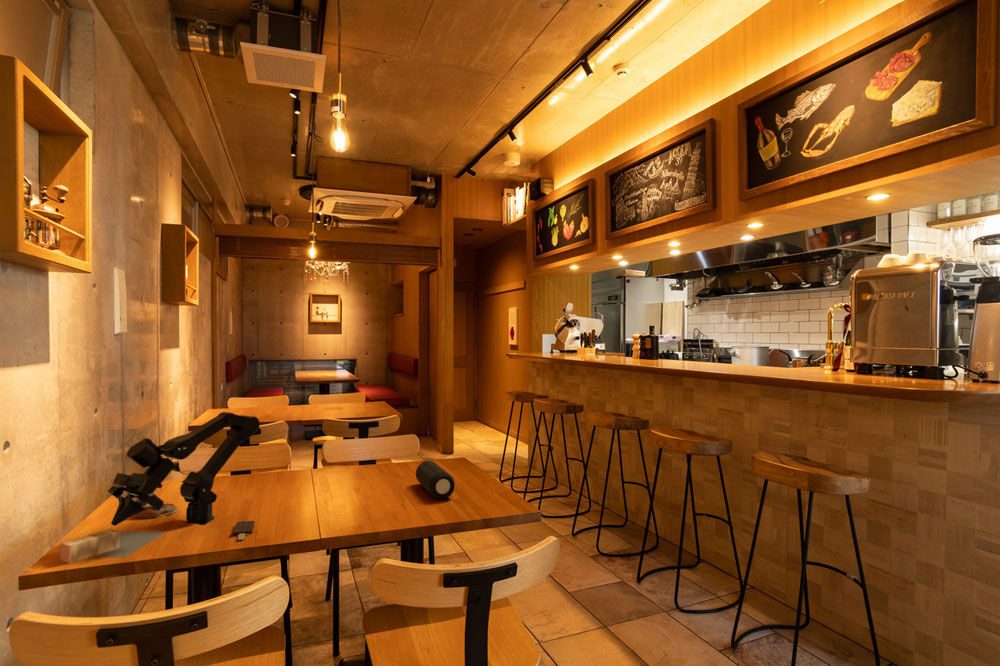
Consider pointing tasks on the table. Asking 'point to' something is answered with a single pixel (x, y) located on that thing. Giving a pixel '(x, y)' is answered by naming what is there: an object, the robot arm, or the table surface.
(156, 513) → the toy sandwich meal
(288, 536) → the table surface
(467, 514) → the table surface
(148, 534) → the rubber mat
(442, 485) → the portable speaker
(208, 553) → the table surface
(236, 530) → the ice cream bar
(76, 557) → the maple block
